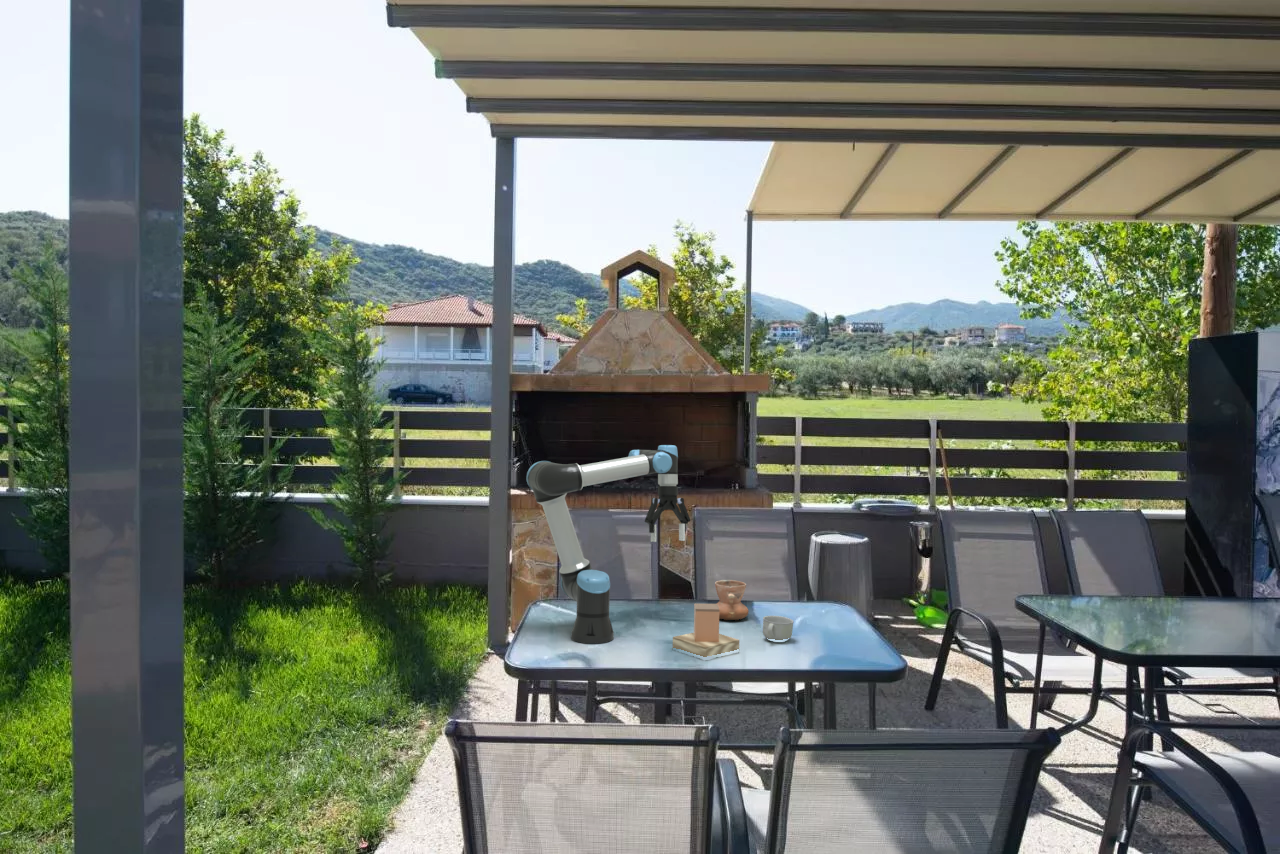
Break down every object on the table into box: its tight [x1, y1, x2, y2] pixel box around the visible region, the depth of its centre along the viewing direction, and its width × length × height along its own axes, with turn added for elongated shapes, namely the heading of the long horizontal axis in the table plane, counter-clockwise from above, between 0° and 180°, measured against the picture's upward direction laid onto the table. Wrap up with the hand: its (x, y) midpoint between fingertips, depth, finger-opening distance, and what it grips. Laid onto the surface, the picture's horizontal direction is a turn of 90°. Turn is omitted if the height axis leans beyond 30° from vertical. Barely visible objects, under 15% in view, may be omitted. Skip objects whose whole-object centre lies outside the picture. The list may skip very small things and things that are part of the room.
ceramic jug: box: [714, 579, 749, 621], centre depth 346 cm, size 18×14×14 cm
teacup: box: [762, 615, 794, 640], centre depth 312 cm, size 14×11×8 cm
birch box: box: [672, 632, 740, 657], centre depth 298 cm, size 16×16×5 cm
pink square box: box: [693, 603, 720, 642], centre depth 297 cm, size 8×8×11 cm
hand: (667, 541), depth 334 cm, fingers open, 13 cm apart
